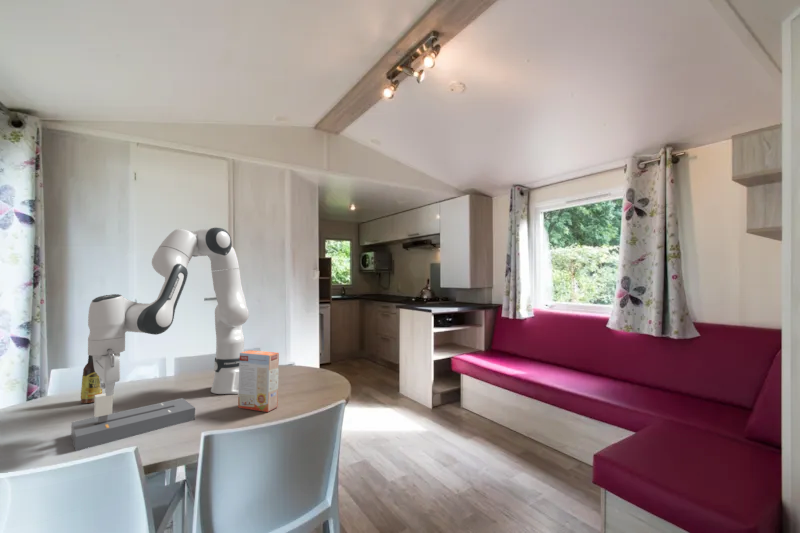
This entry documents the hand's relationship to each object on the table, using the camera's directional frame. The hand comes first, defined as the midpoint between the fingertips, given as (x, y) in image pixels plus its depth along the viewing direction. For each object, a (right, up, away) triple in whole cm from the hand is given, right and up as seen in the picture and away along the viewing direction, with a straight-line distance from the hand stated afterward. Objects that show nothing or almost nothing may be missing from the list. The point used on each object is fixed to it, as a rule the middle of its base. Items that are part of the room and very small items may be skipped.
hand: (106, 391), depth 106 cm
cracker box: (+37, -15, +23) cm, 47 cm away
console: (+5, -14, +6) cm, 15 cm away
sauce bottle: (-30, -14, +28) cm, 43 cm away
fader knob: (-1, -9, -1) cm, 9 cm away
